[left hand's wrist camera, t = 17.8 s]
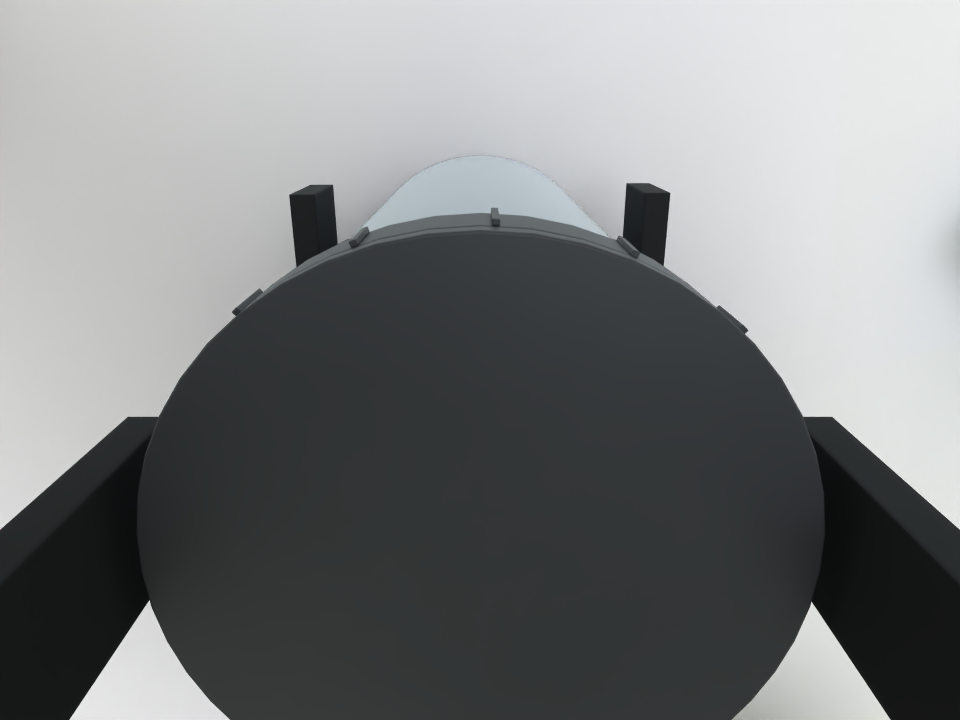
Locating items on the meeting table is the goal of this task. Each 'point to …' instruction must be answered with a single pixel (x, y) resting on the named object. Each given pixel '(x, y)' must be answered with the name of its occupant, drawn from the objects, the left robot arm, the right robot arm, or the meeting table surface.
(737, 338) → the lid
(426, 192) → the jar
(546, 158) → the meeting table surface
